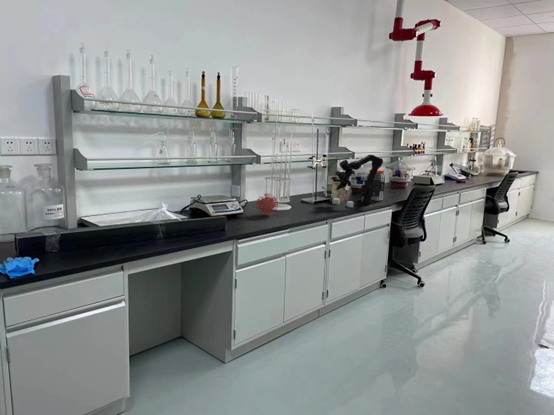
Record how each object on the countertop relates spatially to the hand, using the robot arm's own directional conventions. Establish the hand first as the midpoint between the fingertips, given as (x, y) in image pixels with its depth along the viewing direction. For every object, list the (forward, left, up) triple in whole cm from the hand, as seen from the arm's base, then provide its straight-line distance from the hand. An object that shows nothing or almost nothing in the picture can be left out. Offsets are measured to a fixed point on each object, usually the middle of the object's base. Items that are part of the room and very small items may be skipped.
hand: (334, 189), depth 323 cm
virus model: (+50, +46, -14) cm, 69 cm away
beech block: (-1, -1, -7) cm, 7 cm away
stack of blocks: (-9, -30, -14) cm, 34 cm away
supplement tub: (-40, -43, -14) cm, 60 cm away
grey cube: (-13, -2, -14) cm, 19 cm away
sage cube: (-3, -12, -14) cm, 19 cm away
